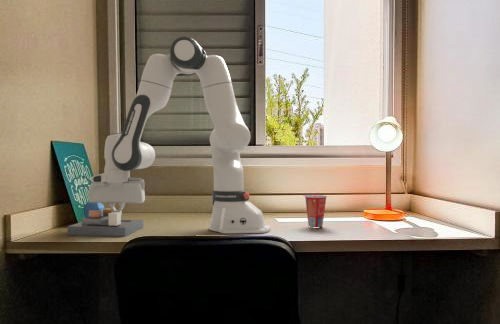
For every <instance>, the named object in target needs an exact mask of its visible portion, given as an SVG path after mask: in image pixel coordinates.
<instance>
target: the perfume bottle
mask: <svg viewBox="0 0 500 324" xmlns="http://www.w3.org/2000/svg"><path fill="white" fill-rule="evenodd" d="M103 209H106V208H105V206H104V203H91V202H90V201H87V202H86V203H85V205H84V206H83V208H82V211H83V210H84V215H85V218H86V217H89V211H92V210H101V216H103Z"/></svg>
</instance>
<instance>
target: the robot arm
mask: <svg viewBox="0 0 500 324" xmlns="http://www.w3.org/2000/svg"><path fill="white" fill-rule="evenodd" d="M193 75H196V76H198V78H199V81H200V86H201V90H202V95H203V99H204V103H205V107H206V111H207V112H208V114H209V116H210V119H211V121H212V124H213V126H214V128H213V130H212V131H211V133H210V135H209V143H210V151H211V152H210V153H211V159H212V167H213V190H212V193H211V203H212V204H211V205H212V212H211V219H210V225H209V227H208V228H209V230H210V231H213V232H218V233H221V234H258V233H259V234H264V233H268V232H269V231H271V225H269V224H268V223H265V217H264V214H263V212H262V210H261V209H260V208H258V207H257V206H256V205H255V204H253V203H252V202H250V201H249V199H250V192H247V191H245V190H244V187H245V186H244V180H245V179H244V178H245V177H244V175H245V174H244V167H243V164H242V160H241V155H240V152H242V151H243V150H244V149H246V147H248V145H249V144H250V142H251V138H252V137H251V131H250V130H249V127H248V126H247V125H246V123H245V121H244V119H243V116H242V114H241V112H240V109H239V106H238V103H237V100H236V97H235V91H234V87H233V84H232V82H233V81H232V78H231V74H230V72H229V70H228V66H227V64H226V62H225V60H224V58H223V57H222V56H219V55H216V54H209V55H207V52H206V51H205V50H204V49H203V47H202V46H201V45H200V44H199V43H198V41H196V40H195V39H194V38H192V37H191V36H190V37H189V36H184V35H183V36H179V37H177V38H175V40H173V42H171V44H170V48H169V53H167V54H162V53H154V54H151V55H150V56H149V57H148V59H147V62H146V64H145V66H144V69H143V71H142V75H141V78H140V83H139V87H138V90H137V92H136V95H135V97H134V99H133V100H132V103H131V105H130V107H129V110H128V113H127V116H126V118H125V119H126V120H125V122H124V125H123V129H122V130H121V132H116V133H112V134H109V135H108V136H107V137H106V138H105V143H104V153H103V155H104V157H103V158H104V160H105V163H104V170H103V171H104V172H103V173H100V174H95V175H92V176H91V177H90V182H91V184H89V187H88V188H89V189H88V202H91V203H102V204H104V203H106V204H108V206H109V207H108V208H111V210H112V212H121V216H122V214H123V210H124V208H125V206H126V204H143V203H144V202H145V201H146V193H145V187H146V183H145V182H146V181H145V180H144V179H143V178H141V177H131V171H135V170H142V169H143V170H144V169H148V168H150V167H151V166H153V164H154V163H155V161H156V151H155V148H154V147H153V146H152V145H151V144H149V143H146V142H143V141H141V138H142V135H143V132H144V129H145V126H146V123H147V120H148V118H150V116H151V115H153V114H154V113H155V112H157V111H160V110H162V109H165V107H166V106H167V104H168V102H169V99H170V98H171V94H172V89H173V84H174V81H175V78H176V77H182V76H184V77H185V76H186V77H187V76H193ZM116 204H118V206H119V208H118V209H116V207H115V206H116Z"/></svg>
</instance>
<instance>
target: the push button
mask: <svg viewBox="0 0 500 324" xmlns="http://www.w3.org/2000/svg"><path fill="white" fill-rule="evenodd" d="M99 218H101V210H92V211H89V219H99Z"/></svg>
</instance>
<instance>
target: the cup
mask: <svg viewBox="0 0 500 324" xmlns="http://www.w3.org/2000/svg"><path fill="white" fill-rule="evenodd" d="M301 196H303V197H305V205H306V216H307V223H308V224H307V225H308V227H309V226H310V227H322V228H323V227H324V216H325V211H326V209H325V208H326V203H327V197H328V196H327V195H324V194H323V195H322V194H303V195H301Z"/></svg>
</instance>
